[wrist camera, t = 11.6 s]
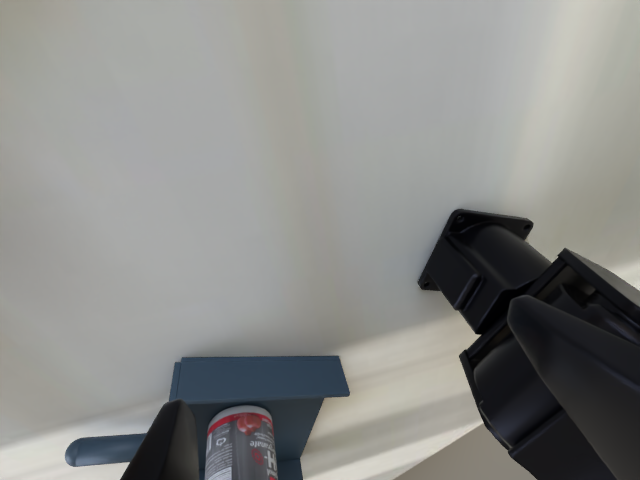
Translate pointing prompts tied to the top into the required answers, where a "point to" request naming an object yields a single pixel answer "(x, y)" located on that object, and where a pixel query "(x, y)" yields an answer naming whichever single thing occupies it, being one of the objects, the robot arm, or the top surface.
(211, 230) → the top surface
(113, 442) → the dustpan
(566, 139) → the top surface
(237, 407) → the pill bottle
